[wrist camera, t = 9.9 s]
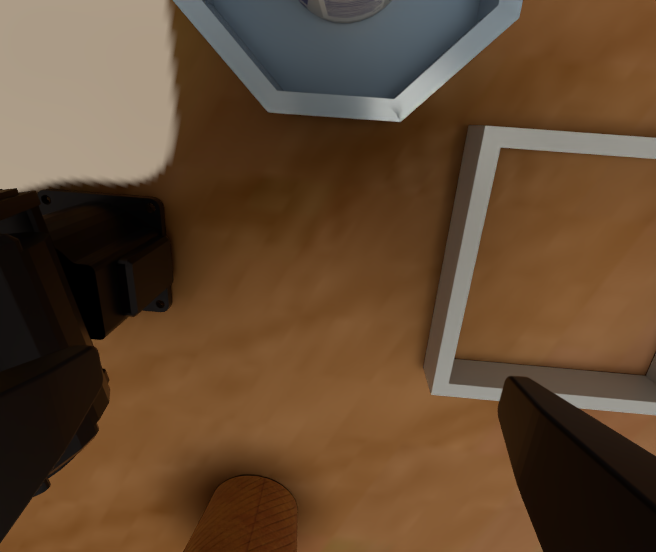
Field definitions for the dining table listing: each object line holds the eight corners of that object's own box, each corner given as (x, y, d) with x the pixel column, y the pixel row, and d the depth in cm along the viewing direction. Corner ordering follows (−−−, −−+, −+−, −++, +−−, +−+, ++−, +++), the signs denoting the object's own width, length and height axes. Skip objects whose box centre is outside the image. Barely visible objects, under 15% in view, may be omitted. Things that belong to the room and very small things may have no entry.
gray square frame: (423, 367, 24) (430, 394, 21) (468, 124, 18) (485, 125, 16) (654, 388, 23) (688, 418, 21) (765, 146, 18) (826, 150, 16)
